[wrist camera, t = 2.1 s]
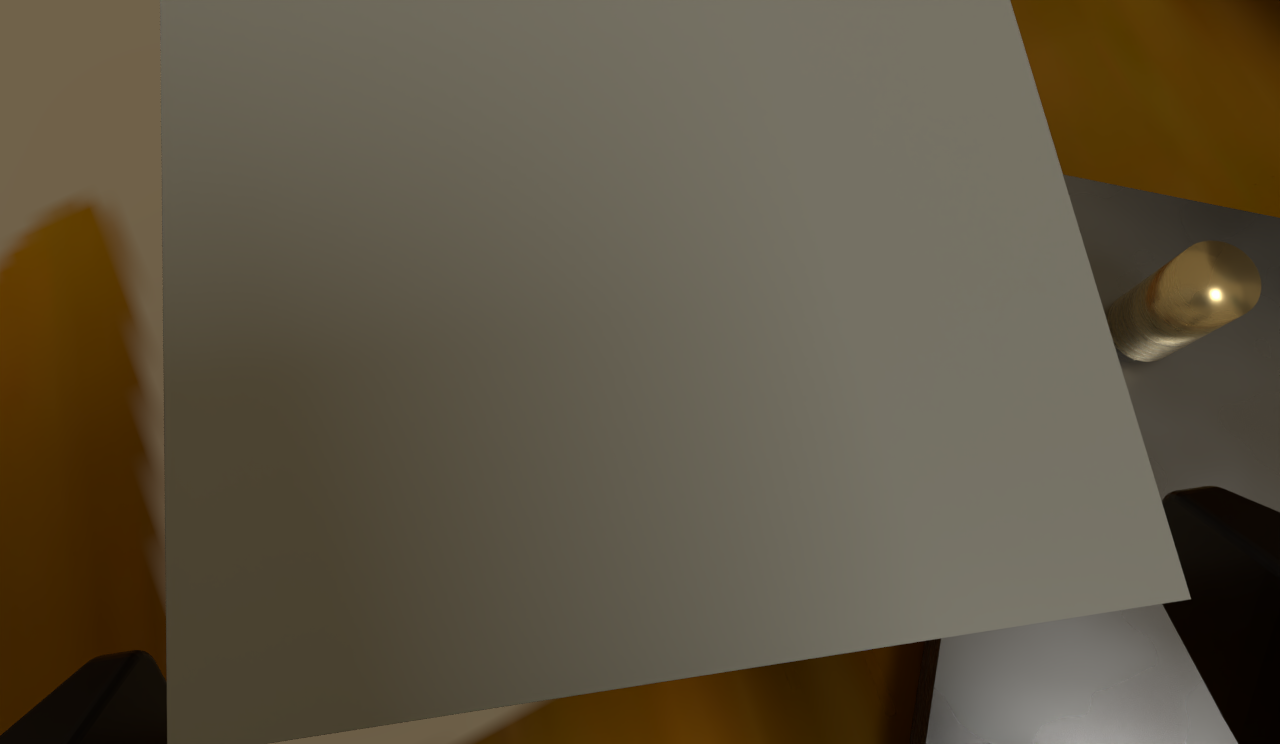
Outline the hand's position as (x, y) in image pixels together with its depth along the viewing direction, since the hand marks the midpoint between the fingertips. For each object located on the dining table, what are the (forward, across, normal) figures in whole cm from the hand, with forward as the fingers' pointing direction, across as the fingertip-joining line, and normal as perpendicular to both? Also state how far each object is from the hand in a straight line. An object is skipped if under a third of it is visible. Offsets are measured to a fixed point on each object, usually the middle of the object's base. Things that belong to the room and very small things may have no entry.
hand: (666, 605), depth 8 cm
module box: (+8, 0, +5) cm, 10 cm away
